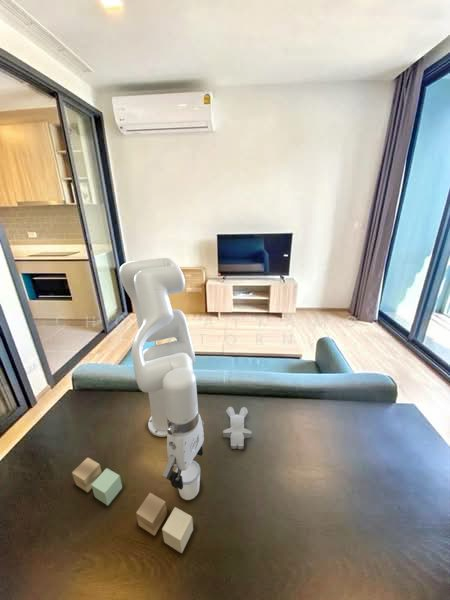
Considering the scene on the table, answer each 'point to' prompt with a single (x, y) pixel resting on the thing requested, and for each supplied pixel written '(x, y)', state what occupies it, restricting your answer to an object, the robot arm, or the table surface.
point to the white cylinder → (190, 481)
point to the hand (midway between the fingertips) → (188, 468)
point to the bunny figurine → (237, 428)
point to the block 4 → (177, 529)
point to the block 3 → (151, 513)
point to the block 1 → (86, 474)
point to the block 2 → (107, 486)
